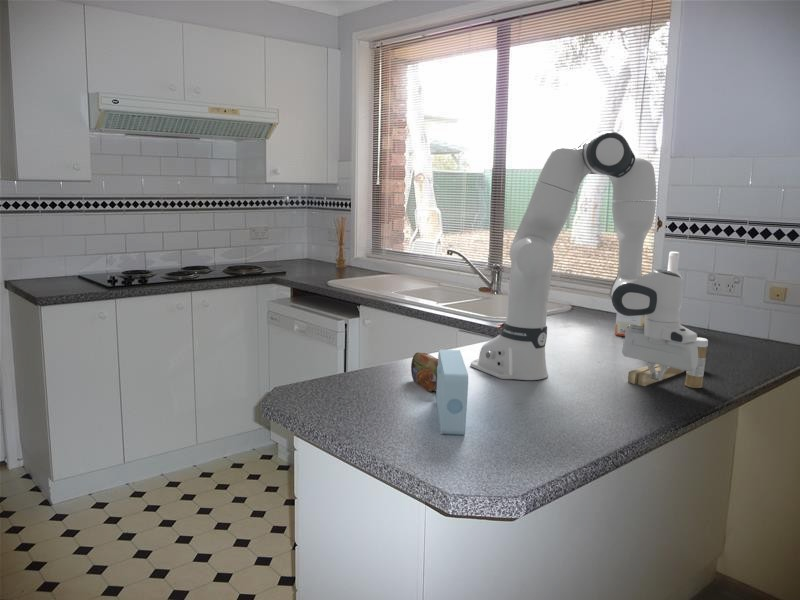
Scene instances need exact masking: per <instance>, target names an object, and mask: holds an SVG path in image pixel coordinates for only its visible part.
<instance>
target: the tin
mask: <svg viewBox="0 0 800 600" xmlns="http://www.w3.org/2000/svg"><path fill="white" fill-rule="evenodd" d="M437 366H438V358H437V357H434V356H432V355H431V354H430V353H427V352H415V354H413V356H412V359H411V366H410V372H411V378H412V380H413V383H414V384H416V385H417V386H419V387H421V388H422V389H423V390H426V391H427V392H436V391H437Z"/></svg>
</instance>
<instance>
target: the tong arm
mask: <svg viewBox="0 0 800 600" xmlns="http://www.w3.org/2000/svg"><path fill="white" fill-rule="evenodd" d="M660 370H661V369H660V368H659V367H658V368H655V371H656V372H658V373H659V372H660ZM684 372H685V371H684V370H680V369H676V368H672V367H668V369H667V370H666V371H665V372H664V374H663V378H662V380H661V381H663V380H666V379H668V378H672V377H674V376H677V375H680V374H682V373H684ZM650 374H651V372H650V371H646V372H643V373H640V374H639V377H638V383H637V385H639V386H643V387H647V386H649V385H652V384H654V383H657V382H659V381H658V380H654V379H651V378H650Z"/></svg>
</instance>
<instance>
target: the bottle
mask: <svg viewBox="0 0 800 600" xmlns="http://www.w3.org/2000/svg"><path fill="white" fill-rule="evenodd" d="M680 258H681V255H680V252H679V251H670V252H669V254H668V260H667V261H668V263H667V271H670V272H673V273H676V274H677V275H679V276H680V277H681V279H682V280H683V277H682V274H681V273H680V272H679V262H680Z"/></svg>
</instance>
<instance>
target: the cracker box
mask: <svg viewBox="0 0 800 600" xmlns="http://www.w3.org/2000/svg"><path fill="white" fill-rule="evenodd" d="M630 325H636V326H643V327H644V325H645V315H639V316H625V315H622V314H620V313H619V312H618V311H616V318H615V329H614V335H615V336H619V337H625V329H626V328H627V327H628V326H630ZM629 328H630V327H629Z"/></svg>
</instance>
